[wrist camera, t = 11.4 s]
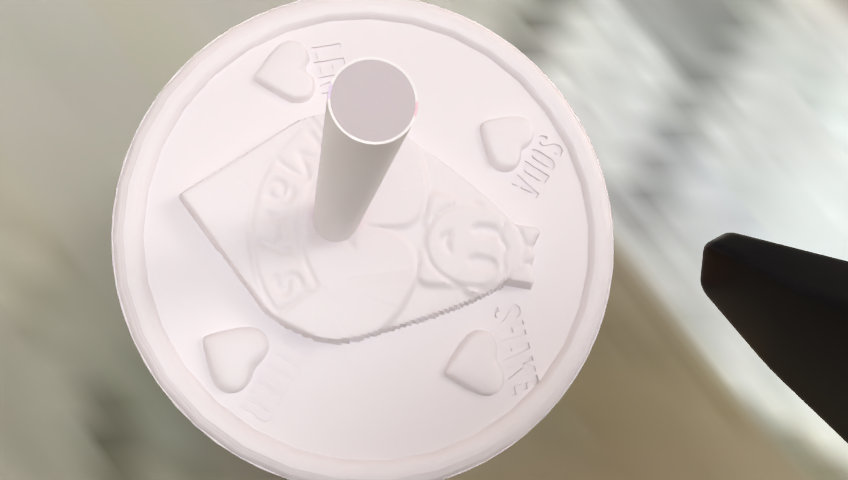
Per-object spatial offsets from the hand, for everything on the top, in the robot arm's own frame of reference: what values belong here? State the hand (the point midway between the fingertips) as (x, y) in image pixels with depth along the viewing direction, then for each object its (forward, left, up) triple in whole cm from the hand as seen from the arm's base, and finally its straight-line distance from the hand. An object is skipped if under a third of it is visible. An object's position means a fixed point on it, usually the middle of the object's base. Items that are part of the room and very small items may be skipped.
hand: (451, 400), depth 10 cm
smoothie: (+2, -2, -9) cm, 9 cm away
